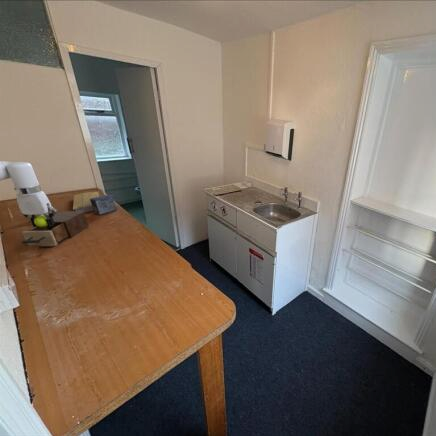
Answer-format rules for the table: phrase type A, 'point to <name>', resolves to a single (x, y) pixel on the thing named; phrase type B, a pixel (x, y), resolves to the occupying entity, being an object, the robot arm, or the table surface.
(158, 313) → the table surface
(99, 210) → the small box
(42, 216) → the ball
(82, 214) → the cabinet
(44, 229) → the drawer
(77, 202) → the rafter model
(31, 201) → the robot arm
